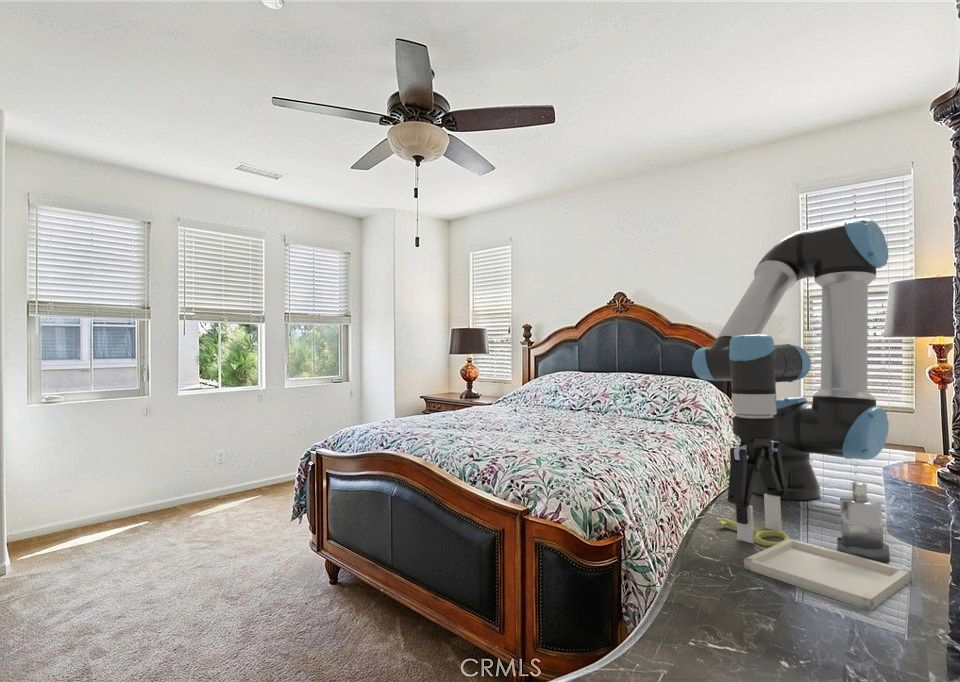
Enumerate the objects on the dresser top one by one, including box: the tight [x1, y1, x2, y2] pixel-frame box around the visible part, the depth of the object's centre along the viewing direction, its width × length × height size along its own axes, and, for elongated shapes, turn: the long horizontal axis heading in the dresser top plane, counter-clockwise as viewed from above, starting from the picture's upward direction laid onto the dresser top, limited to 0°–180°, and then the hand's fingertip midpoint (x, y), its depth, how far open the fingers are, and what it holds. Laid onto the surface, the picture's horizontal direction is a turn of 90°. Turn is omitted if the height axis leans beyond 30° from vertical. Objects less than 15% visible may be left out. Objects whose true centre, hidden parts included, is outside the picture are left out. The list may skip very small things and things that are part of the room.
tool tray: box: [743, 538, 913, 612], centre depth 78 cm, size 15×17×2 cm
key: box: [717, 517, 791, 547], centre depth 95 cm, size 7×12×2 cm, turn 49°
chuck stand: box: [836, 481, 891, 564], centre depth 85 cm, size 7×7×12 cm
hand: (760, 534), depth 95 cm, fingers open, 9 cm apart
